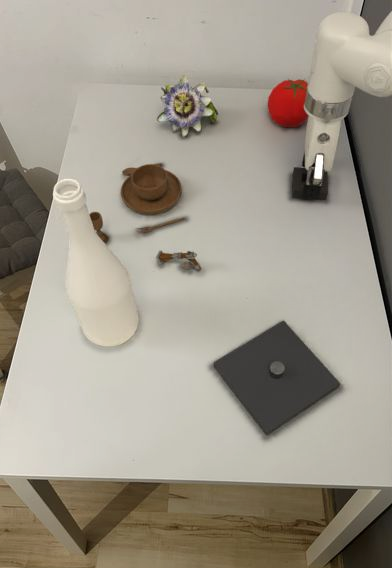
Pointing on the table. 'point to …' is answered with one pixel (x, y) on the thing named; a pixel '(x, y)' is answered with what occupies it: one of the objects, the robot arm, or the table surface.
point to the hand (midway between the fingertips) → (309, 181)
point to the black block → (301, 175)
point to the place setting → (145, 194)
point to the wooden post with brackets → (180, 258)
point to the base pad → (276, 391)
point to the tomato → (288, 103)
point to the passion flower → (186, 106)
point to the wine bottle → (94, 274)
